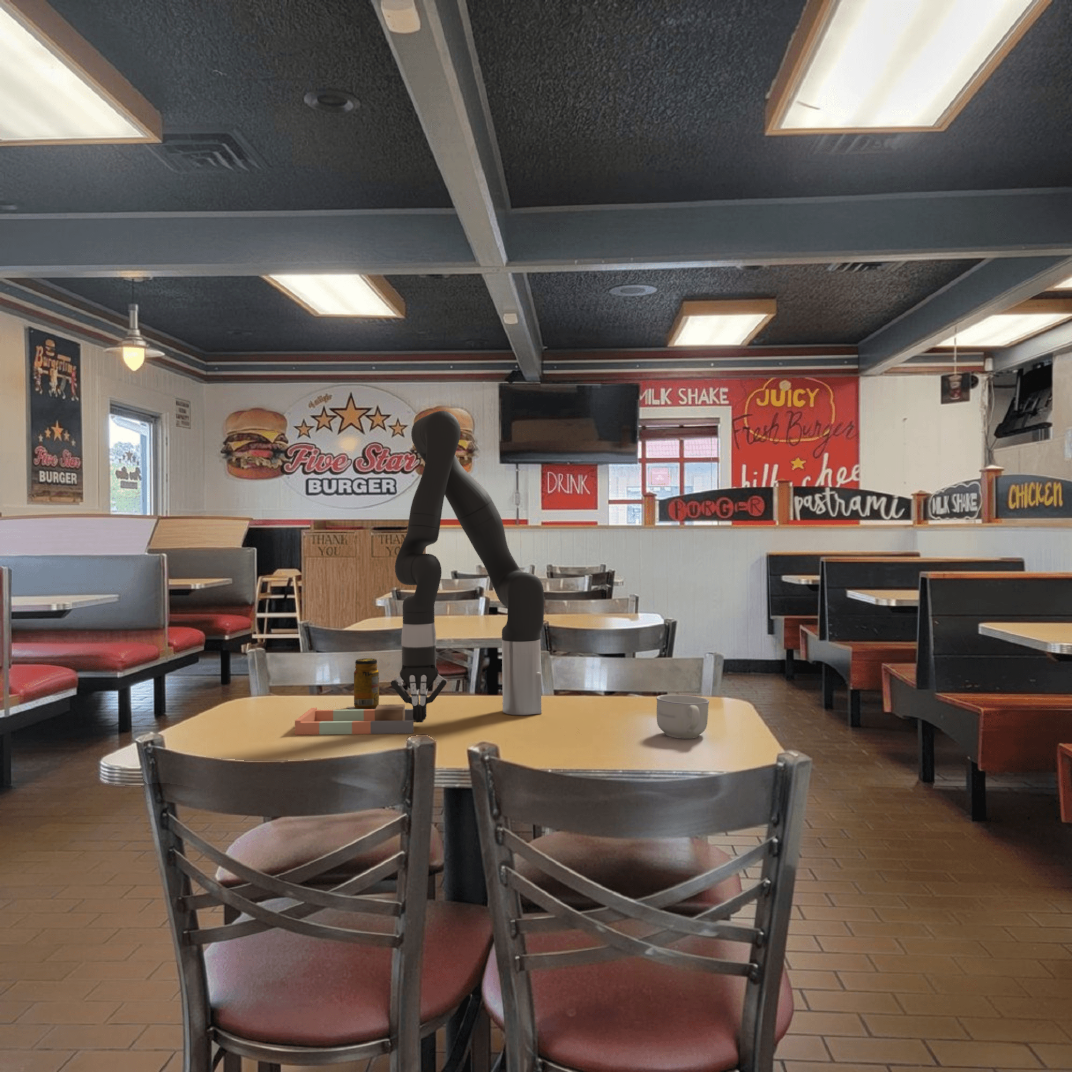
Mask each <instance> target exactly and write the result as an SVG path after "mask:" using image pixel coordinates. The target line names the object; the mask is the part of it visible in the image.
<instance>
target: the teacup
mask: <svg viewBox="0 0 1072 1072" xmlns="http://www.w3.org/2000/svg"><path fill="white" fill-rule="evenodd" d="M655 699H656V723H657V727H658V728H659V729H660V730H661V732H663V733H664V735H665V736H668V737H669V738H670V737H671V738H676V739H695V738H698V737H699V736H700V735H701V734H702V733H704V732H706V729H707V726H708V719H709V704H710V700H709V699H707V698H705V697H702V696H696V695H688V694H687V695H686V694H661V695H658V696H656V698H655Z"/></svg>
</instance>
